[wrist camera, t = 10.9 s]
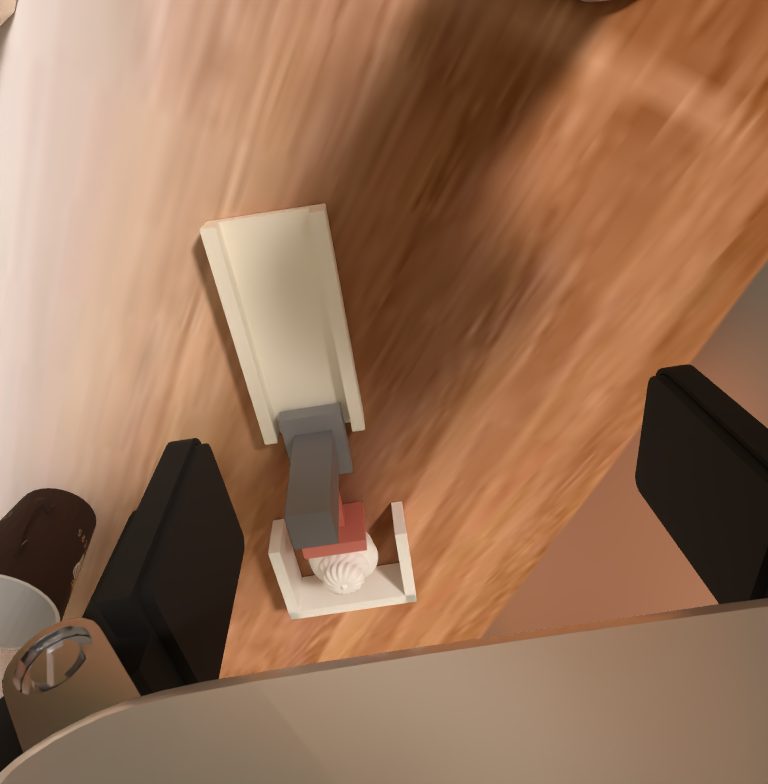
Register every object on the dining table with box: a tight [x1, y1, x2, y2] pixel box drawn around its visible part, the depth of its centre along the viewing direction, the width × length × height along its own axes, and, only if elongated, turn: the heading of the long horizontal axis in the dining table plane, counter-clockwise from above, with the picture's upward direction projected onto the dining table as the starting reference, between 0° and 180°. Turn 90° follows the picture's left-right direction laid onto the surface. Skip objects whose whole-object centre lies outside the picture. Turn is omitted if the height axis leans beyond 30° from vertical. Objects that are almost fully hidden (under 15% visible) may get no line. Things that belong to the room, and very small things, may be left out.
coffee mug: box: [0, 488, 96, 650], centre depth 43 cm, size 12×9×10 cm
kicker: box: [278, 403, 367, 559], centre depth 41 cm, size 5×12×10 cm, turn 8°
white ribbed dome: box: [309, 532, 378, 596], centre depth 48 cm, size 6×6×7 cm
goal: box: [268, 501, 417, 620], centre depth 50 cm, size 12×9×4 cm
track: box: [199, 203, 365, 445], centre depth 39 cm, size 8×17×2 cm, turn 8°
